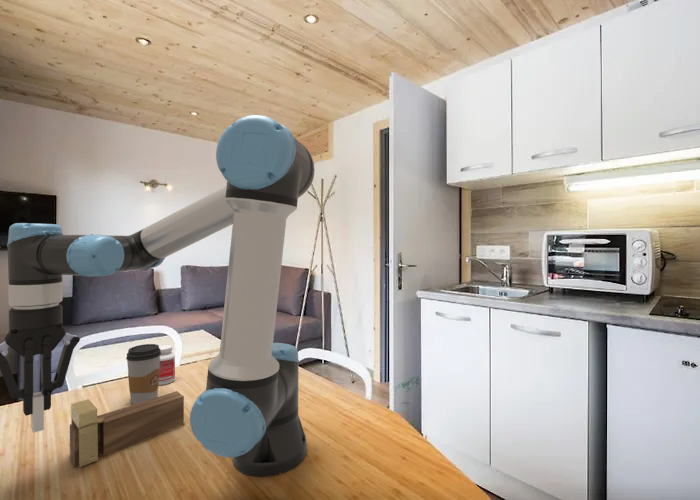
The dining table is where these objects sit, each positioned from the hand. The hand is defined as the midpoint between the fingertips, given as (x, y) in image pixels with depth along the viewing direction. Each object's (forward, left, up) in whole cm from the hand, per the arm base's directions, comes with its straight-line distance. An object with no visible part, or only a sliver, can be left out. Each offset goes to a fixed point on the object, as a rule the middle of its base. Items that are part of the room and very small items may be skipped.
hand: (37, 428), depth 66 cm
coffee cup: (+18, -24, -9) cm, 32 cm away
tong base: (0, -16, -9) cm, 18 cm away
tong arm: (-1, -18, -9) cm, 20 cm away
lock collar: (0, -7, -9) cm, 12 cm away
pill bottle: (+28, -33, -9) cm, 45 cm away
